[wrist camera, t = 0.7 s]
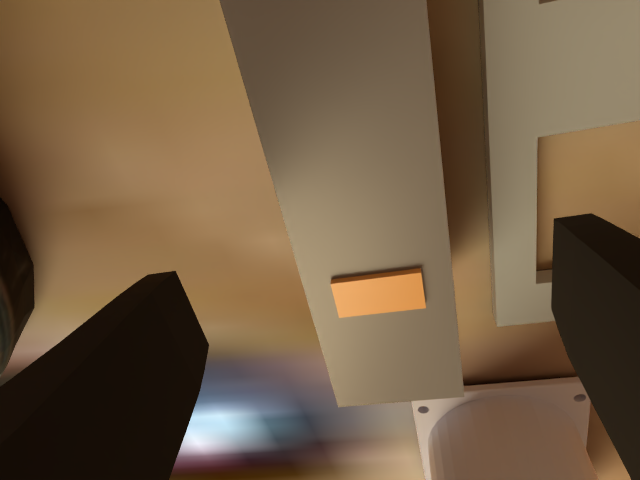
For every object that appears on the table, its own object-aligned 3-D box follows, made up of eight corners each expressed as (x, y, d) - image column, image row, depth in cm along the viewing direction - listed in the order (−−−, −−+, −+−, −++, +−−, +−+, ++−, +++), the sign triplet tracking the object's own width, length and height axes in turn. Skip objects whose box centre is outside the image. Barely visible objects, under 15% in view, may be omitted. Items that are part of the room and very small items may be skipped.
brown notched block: (440, 282, 20) (465, 402, 15) (345, 293, 21) (338, 412, 16) (394, -132, 13) (411, -169, 8) (252, -93, 14) (185, -104, 9)
